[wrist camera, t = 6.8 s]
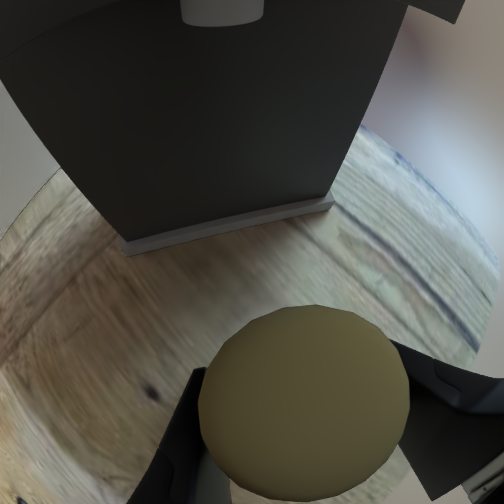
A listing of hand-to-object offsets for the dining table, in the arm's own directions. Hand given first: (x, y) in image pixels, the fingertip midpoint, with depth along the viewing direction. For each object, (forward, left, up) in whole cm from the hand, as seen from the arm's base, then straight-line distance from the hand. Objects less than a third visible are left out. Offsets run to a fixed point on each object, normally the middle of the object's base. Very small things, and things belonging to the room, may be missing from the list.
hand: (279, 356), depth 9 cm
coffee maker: (+9, -6, -8) cm, 13 cm away
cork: (-1, +1, -7) cm, 7 cm away
